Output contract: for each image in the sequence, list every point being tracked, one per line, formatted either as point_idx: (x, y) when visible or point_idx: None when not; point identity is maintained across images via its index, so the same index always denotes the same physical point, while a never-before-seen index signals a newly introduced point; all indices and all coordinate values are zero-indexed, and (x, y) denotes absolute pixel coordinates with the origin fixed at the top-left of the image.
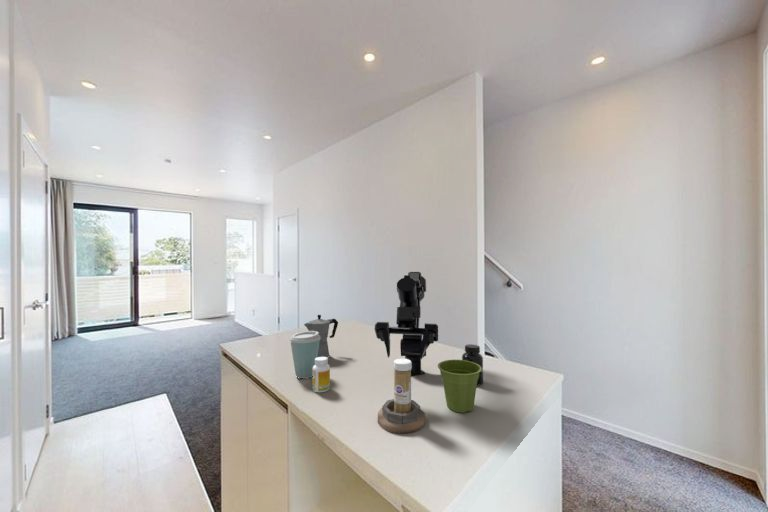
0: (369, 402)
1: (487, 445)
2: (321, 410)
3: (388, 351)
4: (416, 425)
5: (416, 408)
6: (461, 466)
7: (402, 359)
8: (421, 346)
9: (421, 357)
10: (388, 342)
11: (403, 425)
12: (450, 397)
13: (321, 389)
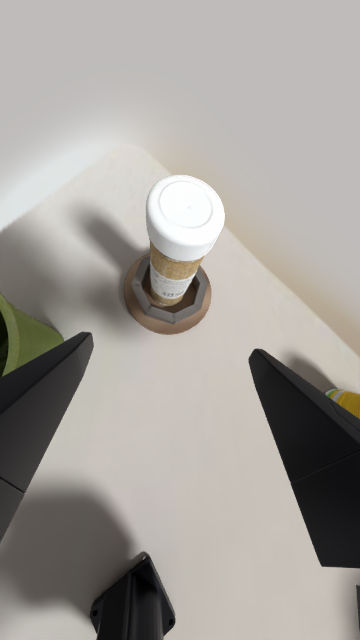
0: (232, 357)
1: (30, 224)
2: (299, 320)
3: (271, 360)
4: (143, 256)
5: (140, 275)
6: (89, 187)
7: (189, 223)
8: (40, 377)
9: (83, 332)
10: (322, 408)
11: None
12: (45, 327)
13: (334, 391)
